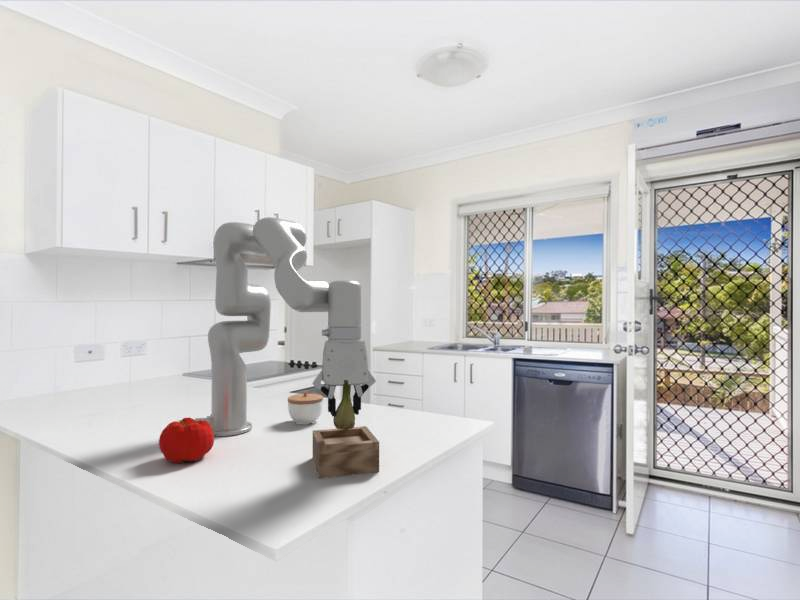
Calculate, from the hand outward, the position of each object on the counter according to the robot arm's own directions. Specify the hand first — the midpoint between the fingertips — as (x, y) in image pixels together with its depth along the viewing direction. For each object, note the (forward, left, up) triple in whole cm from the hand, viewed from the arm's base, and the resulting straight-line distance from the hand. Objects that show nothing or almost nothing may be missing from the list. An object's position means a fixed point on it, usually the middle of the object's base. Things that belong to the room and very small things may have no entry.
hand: (344, 413), depth 102 cm
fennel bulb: (0, 0, -4) cm, 4 cm away
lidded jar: (-5, +40, -12) cm, 42 cm away
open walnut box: (0, 0, -12) cm, 12 cm away
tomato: (-35, +15, -12) cm, 40 cm away
